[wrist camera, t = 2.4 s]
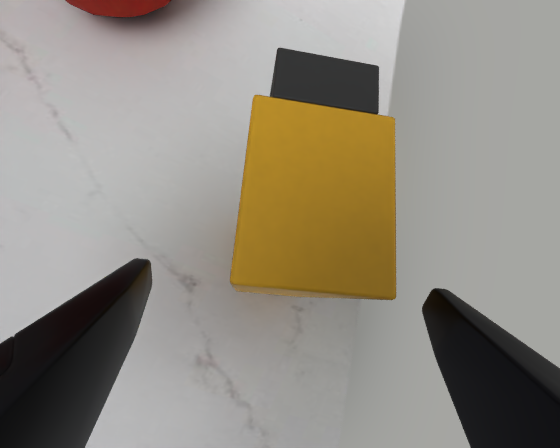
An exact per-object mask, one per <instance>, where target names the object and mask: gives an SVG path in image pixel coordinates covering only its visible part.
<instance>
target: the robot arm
mask: <svg viewBox="0 0 560 448" xmlns="http://www.w3.org/2000/svg"><path fill="white" fill-rule="evenodd" d="M151 287H152V271H151V263H150V261H149V260H148V259H138V258H136V259H133V260H131V261H130V262H128V263H127V264H125V265H124V266H122V267H120V268H119V269H117V270H116V271H114V272H113V273H111V274H109V275H108V276H106V277H105V278H103V279H102V280H100V281H98V282H97V283H95V284H94V285H92V286H90V287H89V288H87V289H86V290H84V291H83V292H81V293H79V294H78V295H76V296H75V297H73V298H72V299H70V300H68V301H67V302H65V303H64V304H62V305H61V306H59V307H57V308H56V309H54V310H53V311H51V312H49V313H48V314H46V315H45V316H43V317H42V318H40V319H38V320H37V321H35V322H34V323H32V324H31V325H29V326H27V327H26V328H24V329H23V330H21V331H19V332H18V333H16V334H15V336H14V337H10V338H8V339H7V340H5V341H4V342H2V343H0V448H85V446H86V444H87V441H88V439H89V437H90V435H91V433H92V431H93V428H94V426H95V424H96V422H97V420H98V417H99V415H100V413H101V411H102V409H103V406H104V404H105V402H106V400H107V398H108V395H109V393H110V391H111V389H112V387H113V385H114V382H115V380H116V378H117V376H118V374H119V371H120V369H121V367H122V365H123V363H124V360H125V358H126V356H127V354H128V352H129V349H130V347H131V345H132V343H133V341H134V338H135V336H136V333H137V330H138V327H139V324H140V321H141V318H142V315H143V312H144V309H145V306H146V303H147V300H148V297H149V293H150V290H151ZM422 312H423V316H424V320H425V323H426V327H427V330H428V334H429V337H430V341H431V344H432V348H433V351H434V354H435V357H436V360H437V363H438V366H439V368H440V370H441V373H442V376H443V378H444V381H445V383H446V386H447V388H448V391H449V393H450V396H451V398H452V401H453V404H454V406H455V409H456V411H457V414H458V416H459V419H460V421H461V424H462V426H463V429H464V431H465V434H466V437H467V439H468V442H469V444H470V447H471V448H560V368H558V367H557V366H556V365H554V364H553V363H551V362H550V361H548V360H547V359H545V358H544V357H543V356H541V355H540V354H538V353H537V352H535V351H534V350H533V349H531V348H530V347H528V346H527V345H526V344H524V343H523V342H521V341H520V340H518V339H517V338H516V337H514V336H513V335H511V334H510V333H508V332H507V331H506V330H504V329H502V328H501V327H500V326H498V325H497V324H496V323H494V322H493V321H491V320H489V319H488V318H487V317H486V316H484V315H483V314H481V313H480V312H478V311H477V310H476V309H474V308H472V307H471V306H470V305H468V304H467V303H465V302H464V301H463V300H461V299H460V298H458V297H457V296H456V295H454V294H453V293H451V292H450V291H448V290H446V289H439V288H435V289H433V290H432V291H431V292H430V294H429V296H428V297H427V299H426V301H425V303H424V304H423V307H422Z"/></svg>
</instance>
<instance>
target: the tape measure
mask: <svg viewBox="0 0 560 448" xmlns="http://www.w3.org/2000/svg"><path fill="white" fill-rule="evenodd" d="M378 107H379V67H378V66H376V65H371V64H365V63H360V62H354V61H349V60H344V59H338V58H333V57H327V56H322V55H316V54H311V53H306V52H300V51H295V50H289V49H284V48H278V49H277V54H276V61H275V67H274V73H273V80H272V86H271V92H270V97H268V96H262V95H255V96H254V97H253V102H252V110H251V118H250V126H249V134H248V141H247V149H246V157H245V165H244V173H243V181H242V189H241V197H240V204H239V212H238V220H237V228H236V236H235V244H234V252H233V259H232V267H231V275H230V283H231V285H232V286H233V287H234V289H235V290H236V291H241V292H252V293H263V294H274V295H285V296H296V297H321V298H350V299H380V300H393V299H395V298H396V207H395V205H396V203H395V119H394V118H393V117H389V116H383V115H377V114H378Z"/></svg>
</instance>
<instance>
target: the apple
mask: <svg viewBox="0 0 560 448" xmlns="http://www.w3.org/2000/svg"><path fill="white" fill-rule="evenodd" d="M66 1H67V2H68V3H69V4H71V5H73V6H75V7H77V8H80V9H82V10H84V11H86V12H89V13H91V14H93V15H103V16H113V17H134V16H139V15H145V14H147V13H149V12H152V11H154V10H156V9H159V8H161V7H164V6H166V5H167V4H168V3H169V2H170V1H171V0H66Z"/></svg>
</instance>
